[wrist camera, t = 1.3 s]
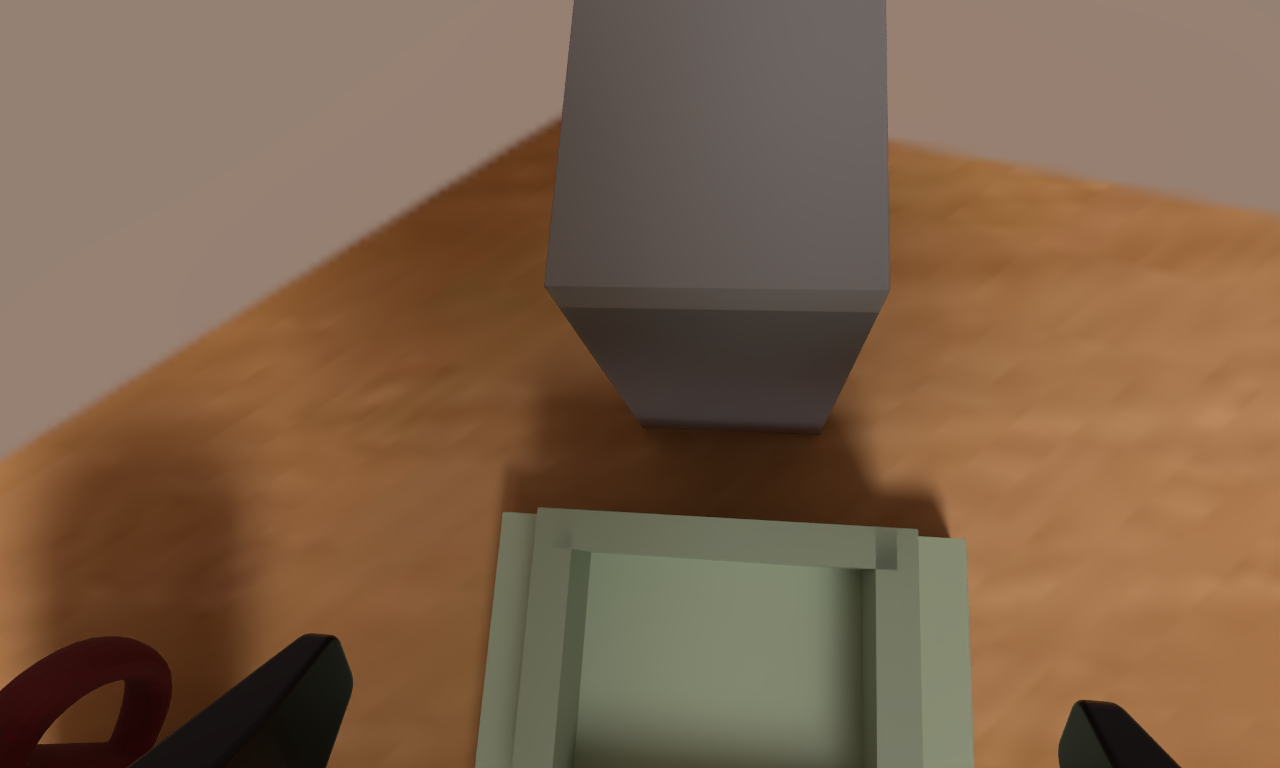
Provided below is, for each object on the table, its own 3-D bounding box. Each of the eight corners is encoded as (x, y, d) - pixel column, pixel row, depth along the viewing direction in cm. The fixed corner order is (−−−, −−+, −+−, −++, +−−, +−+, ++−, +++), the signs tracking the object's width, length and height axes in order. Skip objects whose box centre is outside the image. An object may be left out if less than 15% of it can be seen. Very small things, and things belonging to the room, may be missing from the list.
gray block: (819, 434, 23) (889, 290, 12) (642, 427, 24) (543, 285, 12) (821, 253, 25) (885, -35, 13) (654, 252, 25) (576, -19, 14)
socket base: (964, 960, 19) (1018, 1054, 15) (478, 893, 21) (418, 961, 17) (951, 541, 22) (995, 533, 18) (517, 515, 24) (473, 503, 20)
